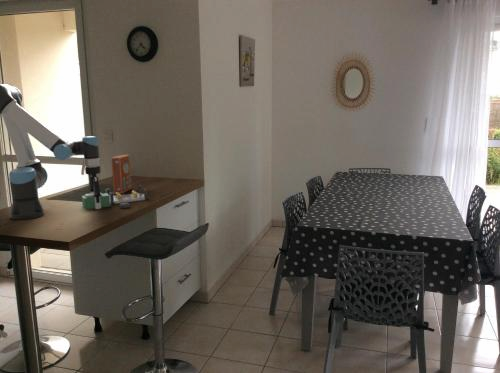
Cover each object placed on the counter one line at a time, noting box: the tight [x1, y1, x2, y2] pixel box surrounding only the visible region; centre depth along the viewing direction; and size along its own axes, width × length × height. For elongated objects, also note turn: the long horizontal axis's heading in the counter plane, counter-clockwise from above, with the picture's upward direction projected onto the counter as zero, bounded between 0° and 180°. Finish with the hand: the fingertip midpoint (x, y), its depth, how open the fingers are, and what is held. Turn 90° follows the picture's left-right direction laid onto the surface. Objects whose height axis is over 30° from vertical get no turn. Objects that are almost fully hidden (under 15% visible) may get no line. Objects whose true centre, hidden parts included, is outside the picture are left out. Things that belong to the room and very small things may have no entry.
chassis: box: [105, 184, 149, 205], centre depth 257 cm, size 20×13×6 cm, turn 118°
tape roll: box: [119, 202, 131, 210], centre depth 241 cm, size 5×5×2 cm
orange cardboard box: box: [111, 154, 132, 194], centre depth 278 cm, size 21×7×15 cm
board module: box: [81, 191, 111, 210], centre depth 243 cm, size 13×7×7 cm, turn 118°
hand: (96, 206), depth 244 cm, fingers open, 12 cm apart
